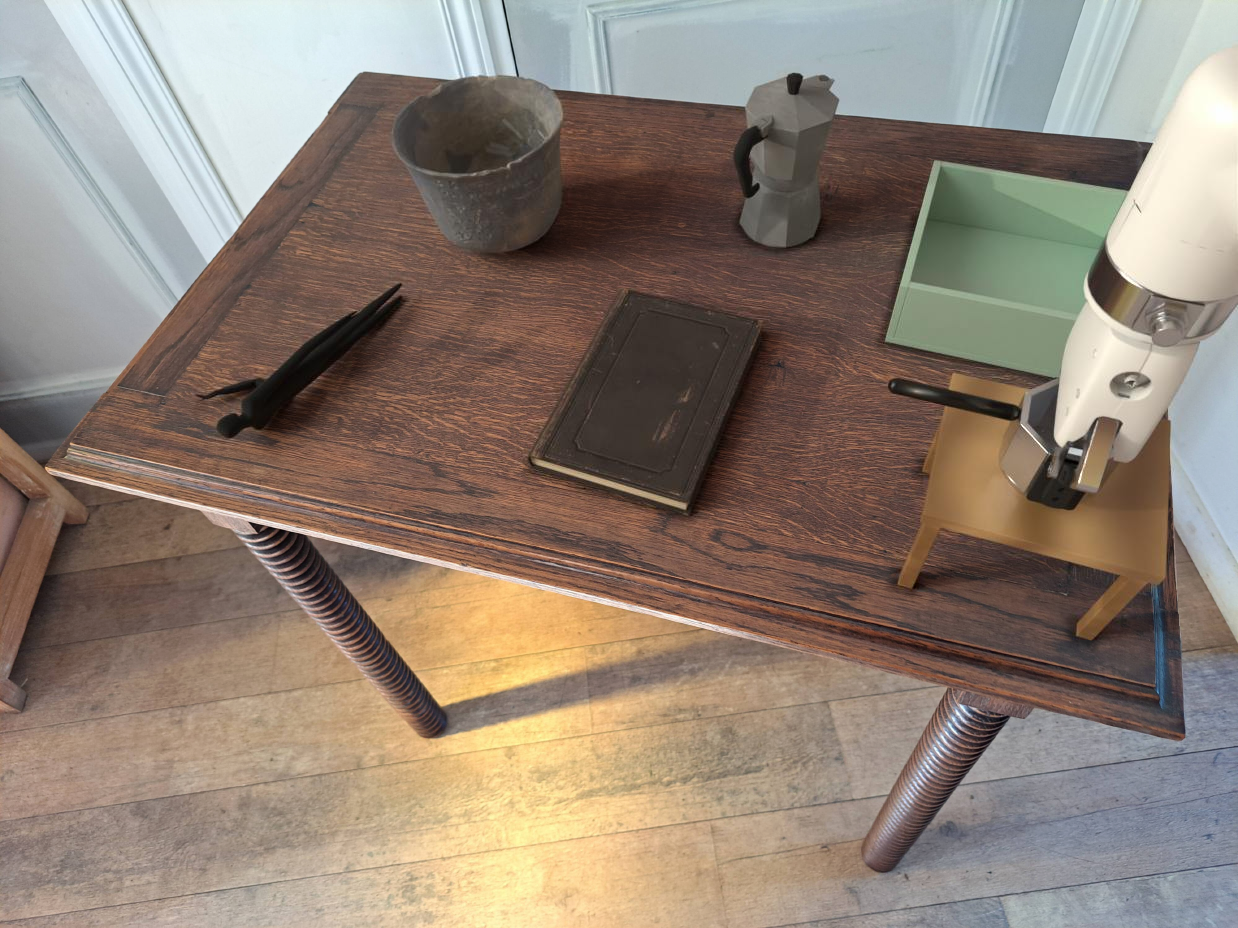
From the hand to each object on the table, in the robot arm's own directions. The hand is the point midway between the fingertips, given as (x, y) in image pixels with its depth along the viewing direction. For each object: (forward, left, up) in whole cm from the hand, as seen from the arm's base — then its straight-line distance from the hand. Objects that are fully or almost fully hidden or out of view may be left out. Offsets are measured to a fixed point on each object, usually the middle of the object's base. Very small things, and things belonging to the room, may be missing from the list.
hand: (1054, 458), depth 62 cm
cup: (+59, -24, -13) cm, 65 cm away
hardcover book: (+34, -6, -13) cm, 37 cm away
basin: (+4, -30, -13) cm, 33 cm away
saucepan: (+5, 0, -1) cm, 5 cm away
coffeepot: (+29, -34, -13) cm, 47 cm away
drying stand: (0, 0, -13) cm, 13 cm away
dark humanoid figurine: (+71, 0, -13) cm, 72 cm away
